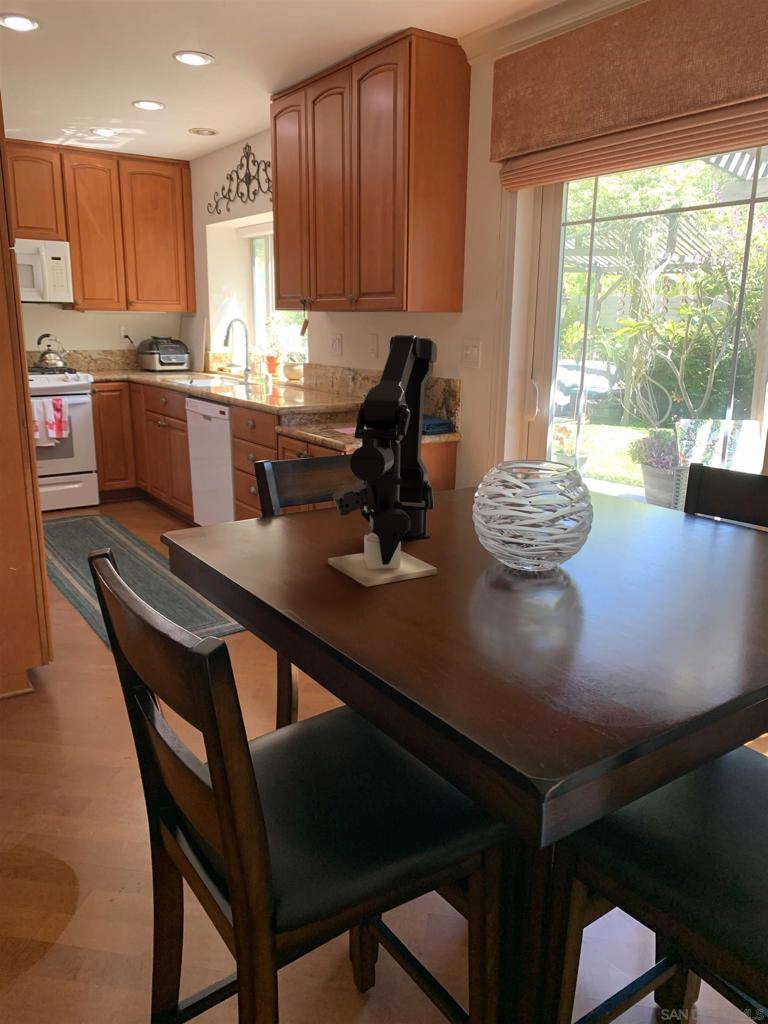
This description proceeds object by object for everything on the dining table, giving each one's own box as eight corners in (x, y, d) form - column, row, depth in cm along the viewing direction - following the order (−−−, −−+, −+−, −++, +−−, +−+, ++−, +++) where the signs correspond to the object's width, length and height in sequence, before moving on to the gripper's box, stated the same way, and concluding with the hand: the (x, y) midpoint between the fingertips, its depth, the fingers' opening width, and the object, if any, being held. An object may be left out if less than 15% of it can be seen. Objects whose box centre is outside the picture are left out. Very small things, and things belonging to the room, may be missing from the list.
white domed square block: (364, 559, 135) (364, 531, 134) (394, 558, 136) (395, 530, 134) (368, 568, 129) (368, 540, 128) (400, 567, 130) (400, 539, 129)
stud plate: (394, 553, 142) (395, 532, 141) (436, 573, 130) (437, 551, 129) (328, 563, 135) (328, 542, 134) (366, 586, 123) (366, 563, 122)
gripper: (330, 461, 136) (330, 544, 140) (343, 482, 118) (342, 576, 122) (390, 460, 138) (389, 542, 142) (412, 480, 120) (410, 574, 124)
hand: (381, 557), depth 132 cm, fingers open, 7 cm apart
